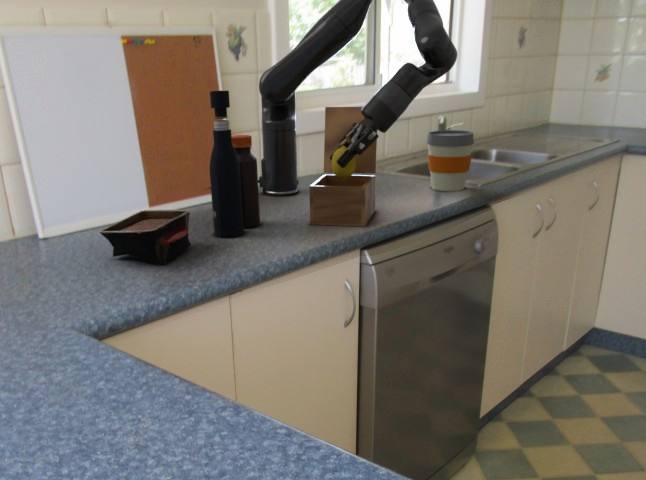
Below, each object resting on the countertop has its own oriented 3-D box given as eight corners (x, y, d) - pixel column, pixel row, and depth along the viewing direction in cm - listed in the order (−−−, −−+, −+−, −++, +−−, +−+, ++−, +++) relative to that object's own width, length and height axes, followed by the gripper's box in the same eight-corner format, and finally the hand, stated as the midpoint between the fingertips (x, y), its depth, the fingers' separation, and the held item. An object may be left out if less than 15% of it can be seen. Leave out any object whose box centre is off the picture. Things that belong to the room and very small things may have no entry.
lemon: (347, 184, 150) (346, 148, 147) (327, 181, 153) (326, 146, 150) (360, 179, 154) (360, 144, 151) (340, 177, 157) (340, 143, 154)
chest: (364, 226, 148) (364, 187, 145) (310, 224, 151) (309, 186, 148) (374, 211, 162) (375, 175, 158) (324, 209, 165) (323, 174, 161)
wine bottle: (249, 231, 147) (240, 90, 136) (234, 238, 142) (224, 92, 131) (224, 229, 150) (214, 90, 139) (208, 236, 144) (197, 92, 134)
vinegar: (235, 221, 156) (230, 134, 149) (263, 221, 155) (259, 134, 148) (226, 228, 150) (220, 138, 143) (255, 229, 149) (250, 138, 142)
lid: (377, 106, 155) (380, 109, 160) (325, 106, 158) (330, 109, 163) (375, 173, 158) (378, 173, 163) (323, 172, 161) (328, 172, 166)
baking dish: (98, 271, 130) (89, 224, 124) (148, 234, 144) (141, 191, 139) (162, 283, 125) (155, 235, 120) (207, 244, 139) (202, 200, 134)
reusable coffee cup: (452, 194, 177) (455, 137, 172) (415, 188, 186) (417, 133, 181) (480, 187, 185) (483, 132, 179) (443, 181, 194) (446, 129, 188)
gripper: (408, 121, 144) (355, 179, 146) (387, 115, 158) (339, 169, 160) (385, 96, 142) (332, 156, 144) (365, 92, 155) (317, 148, 157)
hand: (336, 163), depth 152 cm, fingers closed on lemon, 5 cm apart
